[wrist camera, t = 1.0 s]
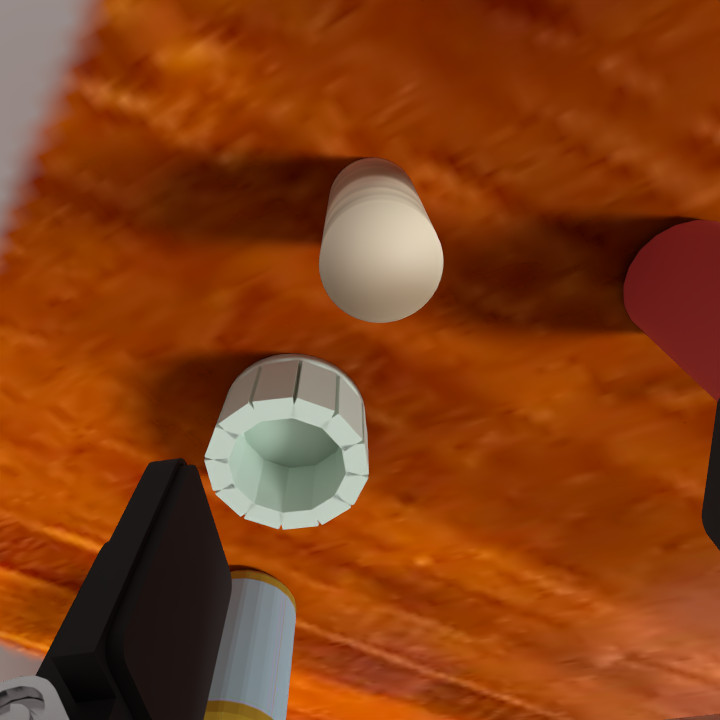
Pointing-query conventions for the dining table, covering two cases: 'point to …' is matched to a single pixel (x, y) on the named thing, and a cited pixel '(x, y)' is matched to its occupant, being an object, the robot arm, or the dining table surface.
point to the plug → (378, 244)
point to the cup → (290, 443)
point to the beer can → (681, 297)
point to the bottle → (254, 651)
